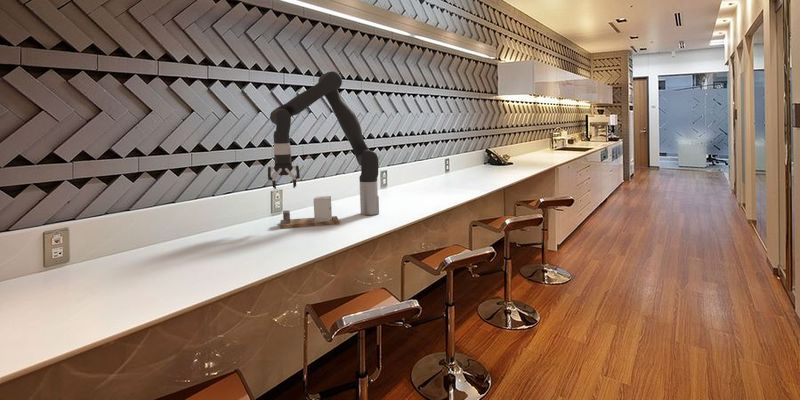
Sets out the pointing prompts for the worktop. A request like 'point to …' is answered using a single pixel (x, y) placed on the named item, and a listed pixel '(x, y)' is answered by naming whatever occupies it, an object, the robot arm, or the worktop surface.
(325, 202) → the supplement box
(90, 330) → the worktop surface
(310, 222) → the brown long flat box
